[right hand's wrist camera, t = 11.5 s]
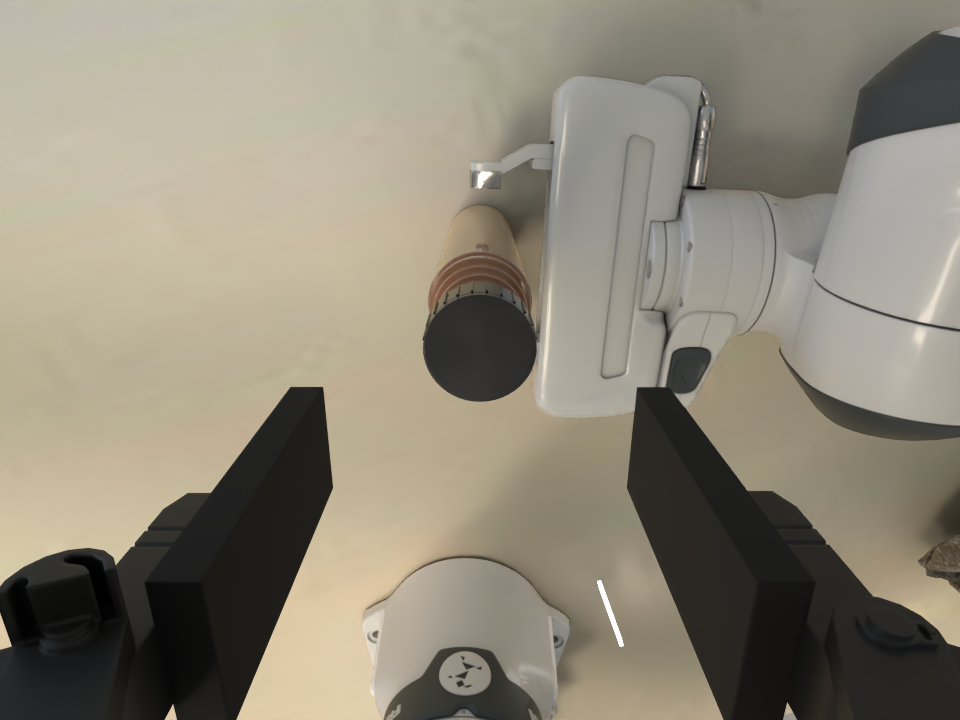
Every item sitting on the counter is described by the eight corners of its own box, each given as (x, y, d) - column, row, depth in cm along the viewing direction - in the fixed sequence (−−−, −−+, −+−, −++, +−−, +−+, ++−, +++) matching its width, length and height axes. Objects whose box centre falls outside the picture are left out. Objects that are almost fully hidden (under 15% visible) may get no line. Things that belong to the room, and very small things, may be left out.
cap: (499, 259, 21) (501, 271, 19) (552, 350, 22) (558, 369, 21) (406, 314, 22) (399, 330, 20) (461, 399, 23) (460, 421, 21)
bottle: (491, 192, 42) (504, 257, 20) (522, 248, 43) (567, 367, 21) (436, 225, 43) (389, 324, 20) (469, 279, 44) (457, 426, 22)
